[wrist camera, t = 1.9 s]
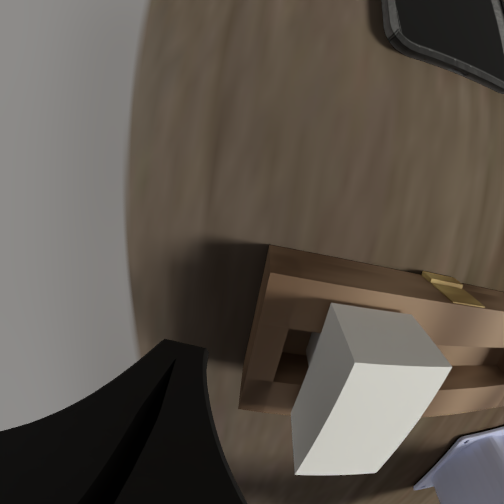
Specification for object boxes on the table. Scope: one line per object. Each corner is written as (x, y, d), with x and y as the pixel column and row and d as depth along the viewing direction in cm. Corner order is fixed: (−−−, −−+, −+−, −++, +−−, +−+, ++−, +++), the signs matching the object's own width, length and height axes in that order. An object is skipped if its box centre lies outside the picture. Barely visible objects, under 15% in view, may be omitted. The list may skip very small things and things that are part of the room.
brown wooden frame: (525, 293, 12) (555, 315, 9) (482, 380, 14) (503, 407, 11) (270, 239, 12) (271, 266, 9) (242, 367, 14) (237, 412, 11)
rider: (391, 290, 11) (452, 366, 6) (350, 386, 12) (376, 472, 8) (320, 277, 11) (355, 362, 6) (288, 380, 12) (294, 474, 8)
